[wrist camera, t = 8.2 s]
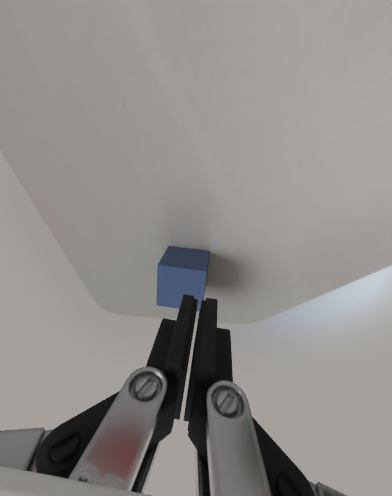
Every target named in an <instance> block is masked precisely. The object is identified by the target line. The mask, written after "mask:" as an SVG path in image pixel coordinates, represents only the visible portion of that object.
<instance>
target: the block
mask: <svg viewBox="0 0 392 496" xmlns="http://www.w3.org/2000/svg"><path fill="white" fill-rule="evenodd" d="M208 260H209V251H202V250H194V249H186V248H179V247H171V246H168V248H167V250H166V252H165V253H164V255H163V257H162V259H161V260H160V262H159V264H158V274H157V305H159V306H166V307H173V308H180V306H181V302H182V298H183V294H187V295H193V296H194V299H198V304H197V310H196V311H200V307H201V301H202V300H204V292H205V284H206V276H207V268H208Z"/></svg>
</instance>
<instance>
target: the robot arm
mask: <svg viewBox="0 0 392 496" xmlns="http://www.w3.org/2000/svg"><path fill="white" fill-rule="evenodd" d="M197 304H198V299H194V296H193V295H187V294H183V298H182V302H181V306H180V309H179V313H178V317H177V321H175V320H169V319H164V318H163V320H162V322H161V325H160V328H159V331H158V334H157V336H156V339H155V342H154V345H153V348H152V351H151V354H150V356H149V359H148V362H147V365H146V367H143V368H140V369H137V370H136V371H134V372H133V373H131V375H130V376H129V377H128V379H127V380H126V382H125V384H124V385H123V387H122V388H121V390H120V391H119V392H117V393H116V394H114V395H112V396H111V397H109V398H107V399H105V400H103V401H102V402H100V403H98V404H96V405H95V406H93V407H91V408H89V409H87V410H86V411H84V412H82V413H80V414H79V415H77V416H75V417H73V418H72V419H70V420H68V421H66V422H65V423H63V424H61V425H59V426H58V427H57V428H55V429H54V430H47V431H45V430H44V428H33V429H19V430H5V431H0V496H150V495H145V494H143V493H144V490H145V487H146V484H147V481H148V478H149V475H150V473H151V469H152V467H153V464H154V460H155V458H156V455H157V452H158V449H159V446H160V442H161V440H162V439H164V438H165V437H166V436H167V435H169V434H170V433H171V430H172V427H173V422H174V419H180V412H181V406H182V399H183V393H184V387H185V380H186V374H187V367H188V362H189V355H190V349H191V341H192V336H193V329H194V323H195V317H196V310H197ZM230 339H231V337H230V330H227V329H221V328H217V299H211V298H206V301H204V300H202V301H201V307H200V313H199V319H198V325H197V331H196V337H195V343H194V350H193V358H192V365H191V372H190V379H189V387H188V394H187V400H186V408H185V415H184V421H189V425H188V431H189V433H188V436H189V438H190V439H191V441H192V443H193V444H194V446H195V468H196V496H346V495H344V494H342V493H340V492H338V491H336V490H334V489H332V488H330V487H328V486H326V485H323V484H321V483H319V482H318V483H317V484H313V483H312V482H309V481H308V480H307V479H306V477H305V476H304V475H303V473H302V472H301V471H300V470H299V469H298V468H297V466H296V465H295V464H294V463H293V462H292V461H291V460H290V459H289V458H288V456H286V454H285V453H284V452H283V451H282V450H281V449H280V447H279V446H278V445H277V444H276V443H275V442H274V441H273V440H272V438H270V436H269V435H268V434H267V433H266V432H265V431H264V429H262V427H261V426H260V425H259V424H258V423H257V422H256V420H255V419H254V418H253V417H252V415H251V411H250V407H249V403H248V400H247V397H246V395H245V393H244V392H243V390H242V389H241V388H240V387H238V386H237V385H236V384H234V383H233V378H232V357H231V340H230Z"/></svg>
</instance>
